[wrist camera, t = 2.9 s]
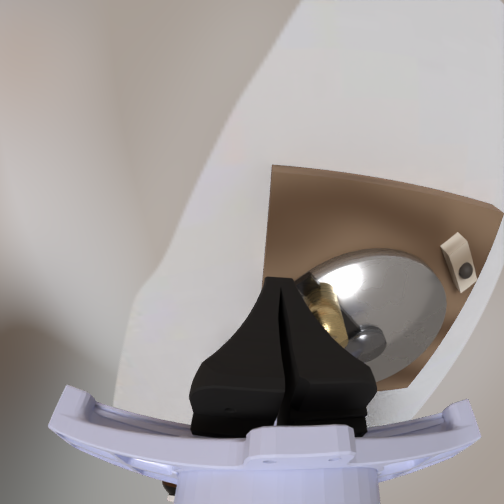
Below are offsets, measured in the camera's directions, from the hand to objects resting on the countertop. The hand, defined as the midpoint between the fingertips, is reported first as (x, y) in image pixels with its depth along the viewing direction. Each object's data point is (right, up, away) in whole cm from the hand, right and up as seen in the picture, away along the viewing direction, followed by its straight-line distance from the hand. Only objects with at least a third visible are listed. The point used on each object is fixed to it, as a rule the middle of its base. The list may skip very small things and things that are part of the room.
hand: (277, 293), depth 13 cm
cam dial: (+6, -3, +4) cm, 8 cm away
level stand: (+8, -2, +6) cm, 10 cm away
